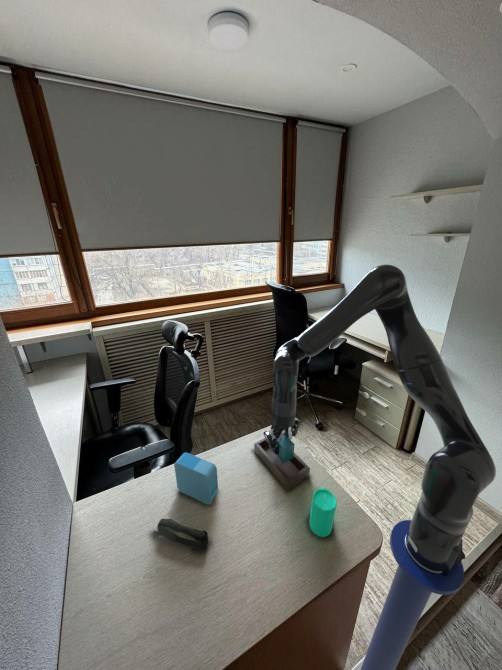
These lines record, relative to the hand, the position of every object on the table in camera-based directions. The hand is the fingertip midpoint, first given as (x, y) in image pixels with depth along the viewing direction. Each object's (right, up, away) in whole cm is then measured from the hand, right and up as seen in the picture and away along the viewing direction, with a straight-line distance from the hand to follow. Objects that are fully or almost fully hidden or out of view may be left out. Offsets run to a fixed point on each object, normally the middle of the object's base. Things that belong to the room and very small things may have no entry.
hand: (281, 449), depth 90 cm
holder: (0, -6, +2) cm, 6 cm away
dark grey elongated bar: (-28, -15, -20) cm, 38 cm away
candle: (+9, -14, -17) cm, 23 cm away
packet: (0, -1, +1) cm, 1 cm away
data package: (-26, -10, -8) cm, 29 cm away
